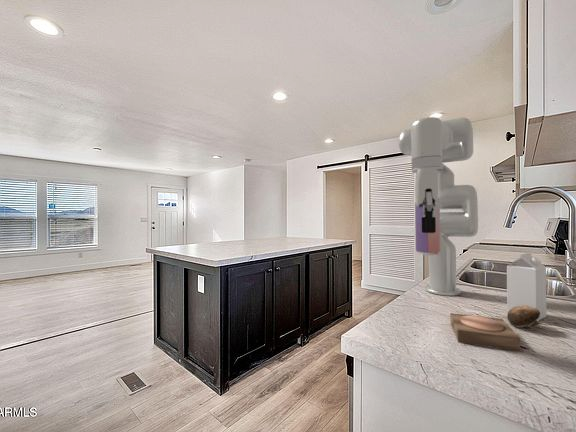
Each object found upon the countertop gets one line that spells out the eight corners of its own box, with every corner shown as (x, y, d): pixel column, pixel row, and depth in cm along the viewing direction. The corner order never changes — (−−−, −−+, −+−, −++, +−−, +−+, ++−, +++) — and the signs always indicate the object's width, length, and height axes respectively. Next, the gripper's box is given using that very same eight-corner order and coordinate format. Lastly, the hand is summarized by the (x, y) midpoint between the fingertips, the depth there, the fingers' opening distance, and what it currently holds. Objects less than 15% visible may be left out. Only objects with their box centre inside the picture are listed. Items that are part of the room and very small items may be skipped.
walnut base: (450, 323, 77) (450, 311, 77) (502, 330, 72) (502, 317, 72) (458, 342, 66) (458, 327, 66) (520, 351, 61) (520, 335, 61)
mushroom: (554, 317, 72) (536, 297, 74) (545, 336, 68) (525, 314, 70) (524, 322, 79) (507, 303, 80) (514, 338, 75) (497, 318, 76)
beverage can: (415, 254, 73) (414, 198, 72) (416, 251, 78) (415, 199, 78) (440, 255, 70) (440, 197, 70) (440, 252, 75) (439, 198, 75)
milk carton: (506, 314, 83) (506, 252, 83) (517, 309, 87) (516, 250, 87) (536, 322, 77) (536, 255, 77) (546, 317, 81) (546, 253, 80)
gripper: (410, 170, 83) (411, 229, 83) (412, 161, 67) (413, 234, 67) (438, 168, 80) (439, 229, 80) (447, 158, 64) (448, 234, 64)
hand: (427, 231), depth 74 cm, fingers closed on beverage can, 6 cm apart
